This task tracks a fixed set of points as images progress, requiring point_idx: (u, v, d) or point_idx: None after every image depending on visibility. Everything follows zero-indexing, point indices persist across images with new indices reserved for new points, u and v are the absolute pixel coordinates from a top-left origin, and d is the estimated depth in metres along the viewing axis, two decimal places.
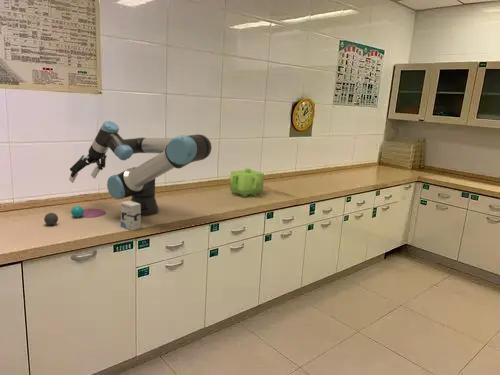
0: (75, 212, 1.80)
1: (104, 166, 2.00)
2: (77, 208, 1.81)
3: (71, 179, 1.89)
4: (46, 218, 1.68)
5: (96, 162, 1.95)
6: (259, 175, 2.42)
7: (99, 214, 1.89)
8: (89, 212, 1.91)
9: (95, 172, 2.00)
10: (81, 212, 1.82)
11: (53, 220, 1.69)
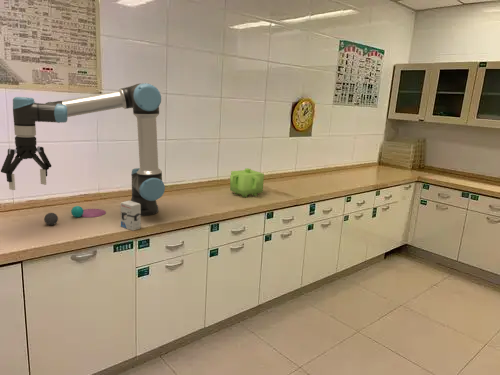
0: (75, 212, 1.80)
1: (49, 165, 1.65)
2: (77, 208, 1.81)
3: (11, 186, 1.53)
4: (46, 218, 1.68)
5: (35, 160, 1.60)
6: (259, 175, 2.42)
7: (99, 214, 1.89)
8: (89, 212, 1.91)
9: (42, 176, 1.64)
10: (81, 212, 1.82)
11: (53, 220, 1.69)
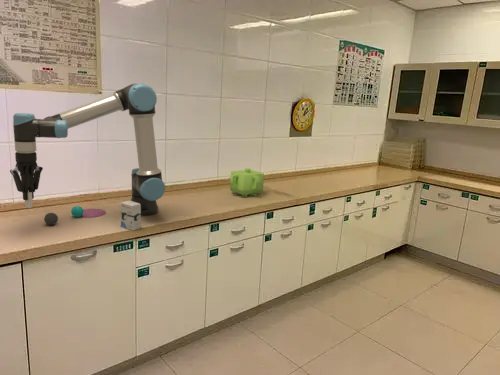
0: (75, 212, 1.80)
1: (37, 187, 1.61)
2: (77, 208, 1.81)
3: (27, 204, 1.59)
4: (46, 218, 1.68)
5: (28, 178, 1.58)
6: (259, 175, 2.42)
7: (99, 214, 1.89)
8: (89, 212, 1.91)
9: None
10: (81, 212, 1.82)
11: (53, 220, 1.69)
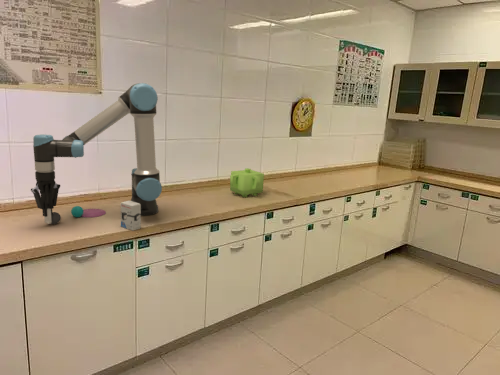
0: (75, 212, 1.80)
1: (55, 203, 1.70)
2: (77, 208, 1.81)
3: (46, 220, 1.68)
4: None
5: (47, 195, 1.67)
6: (259, 175, 2.42)
7: (99, 214, 1.89)
8: (89, 212, 1.91)
9: None
10: (81, 212, 1.82)
11: (56, 218, 1.70)
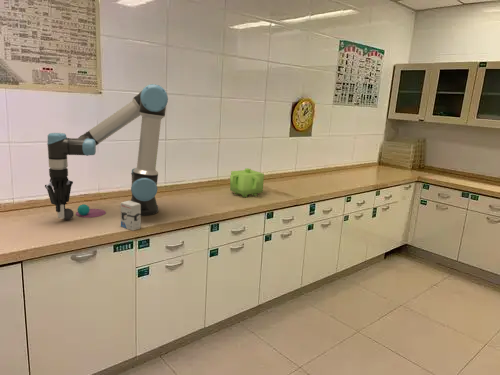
0: (85, 206, 1.85)
1: (68, 199, 1.76)
2: None
3: (59, 215, 1.74)
4: None
5: (60, 191, 1.73)
6: (259, 175, 2.42)
7: (99, 214, 1.89)
8: (89, 212, 1.91)
9: None
10: (87, 211, 1.85)
11: (72, 213, 1.78)
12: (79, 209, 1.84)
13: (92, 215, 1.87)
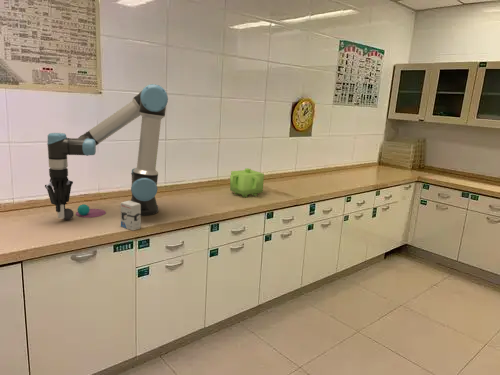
0: (85, 206, 1.85)
1: (68, 199, 1.76)
2: None
3: (59, 215, 1.74)
4: None
5: (60, 191, 1.73)
6: (259, 175, 2.42)
7: (99, 214, 1.89)
8: (89, 212, 1.91)
9: None
10: (87, 211, 1.85)
11: (72, 213, 1.78)
12: (79, 209, 1.84)
13: (92, 215, 1.87)
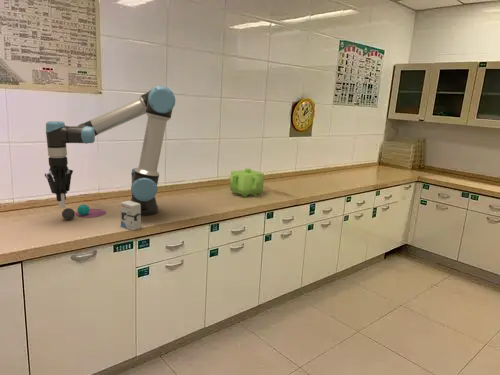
0: (85, 206, 1.85)
1: (68, 188, 1.75)
2: None
3: (60, 205, 1.73)
4: None
5: (60, 180, 1.72)
6: (259, 175, 2.42)
7: (99, 214, 1.89)
8: (89, 212, 1.91)
9: None
10: (87, 211, 1.85)
11: (73, 213, 1.78)
12: (79, 209, 1.84)
13: (92, 215, 1.87)
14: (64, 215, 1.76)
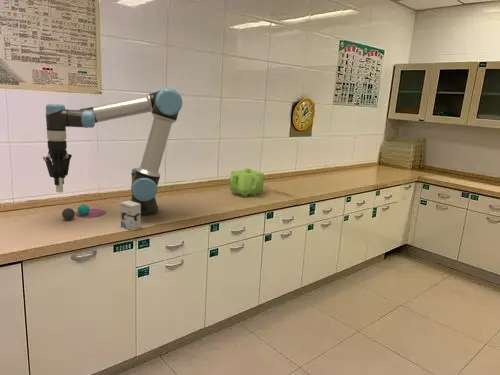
0: (85, 206, 1.85)
1: (66, 173, 1.73)
2: None
3: (58, 189, 1.71)
4: None
5: (59, 164, 1.70)
6: (259, 175, 2.42)
7: (99, 214, 1.89)
8: (89, 212, 1.91)
9: None
10: (87, 211, 1.85)
11: (73, 213, 1.78)
12: (79, 209, 1.84)
13: (92, 215, 1.87)
14: (64, 215, 1.76)
